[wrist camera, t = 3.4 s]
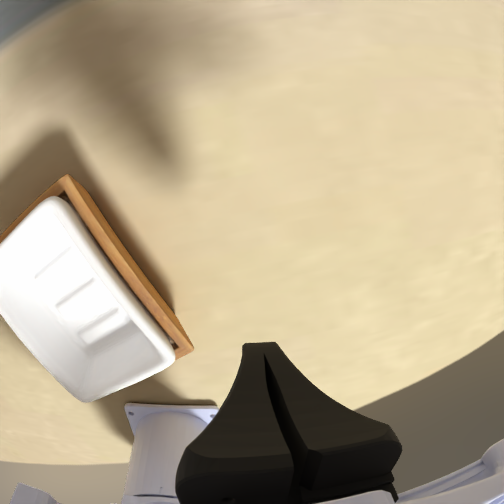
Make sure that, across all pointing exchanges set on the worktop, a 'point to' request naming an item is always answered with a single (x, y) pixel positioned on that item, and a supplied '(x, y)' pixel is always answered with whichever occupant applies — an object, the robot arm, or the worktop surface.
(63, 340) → the soap dish
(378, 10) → the worktop surface
